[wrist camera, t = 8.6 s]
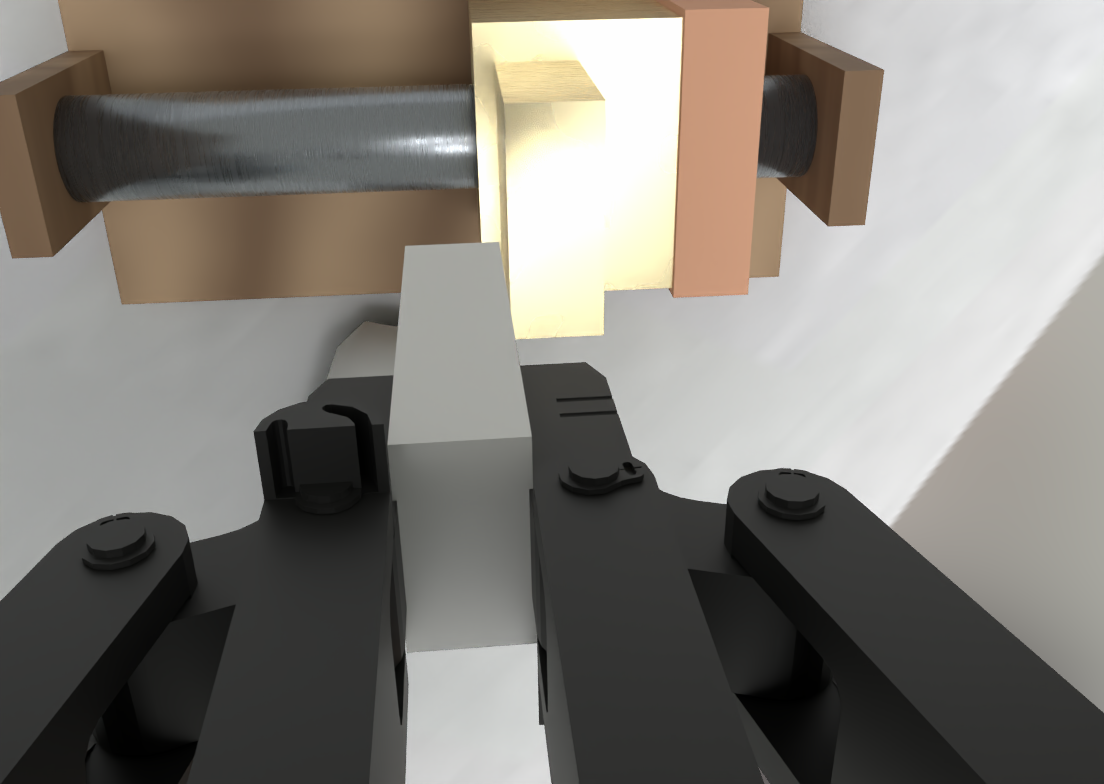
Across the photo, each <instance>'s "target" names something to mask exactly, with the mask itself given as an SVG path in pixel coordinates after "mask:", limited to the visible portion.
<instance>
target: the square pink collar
mask: <svg viewBox="0 0 1104 784" xmlns="http://www.w3.org/2000/svg"><path fill="white" fill-rule="evenodd" d="M655 1H657V2H659V3H660V4H662V5H664V6H665V7H667V8H668V9H670V10H672V11H673V12H675V13H677V14H678V15H680V16H681V17H683V39H682V64H681V88H680V112H679V137H678V161H677V186H676V210H675V235H674V259H673V284H672V288H669V290H670V292H671V294H672V296H673V298H677V297H700V296H723V295H746V294H748V284H749V271H750V258H751V244H752V231H753V218H754V204H755V191H756V178H757V165H758V151H759V138H760V125H761V112H762V98H763V85H764V72H765V58H766V45H767V32H768V19H769V7H766V6H764V5H762V4H759V3H757V2H754V1H752V0H655Z"/></svg>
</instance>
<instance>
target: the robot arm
mask: <svg viewBox="0 0 1104 784" xmlns="http://www.w3.org/2000/svg"><path fill="white" fill-rule="evenodd" d="M254 437H255V443H256V450H257V456H258V462H259V469H260V475H261V481H262V488H263V494H264V504H263V507H262V511H261V515H260V518H259V520H258V521H257V522H255V523H252V524H250V525H248V526H246V527H244V528H242V529H239V530H236V531H233V532H230V533H227V534H223V535H220V536H216V537H212V538H208V539H204V540H200V541H196V542H192V543H190V541H189V537H188V534H187V530H186V527H185V525H184V524H182V523H181V522H179V521H178V520H176V519H175V518H173V517H172V516H167V515H162V514H157V513H152V512H146V513H122V514H116V516H113V515H111V516H108V517H104V518H101V519H99V520H97V521H95V522H93V523H91V524H88V525H86V526H84V527H81V528H79V529H77V530H75V531H74V532H72V533H71V534H70V535H68V536H67V537H66V538H64V539H63V540H62V541H60V542H59V543H58V544H56V545H55V546H54V547H53V549H52V550H51V551H50V552H49V553H48V554H47V555H46V556H45V557H44V558H43V559H42V560H41V561H40V562H39V563H38V564H37V565H36V566H35V567H34V568H33V569H32V570H31V571H30V572H29V573H28V574H27V575H26V576H25V577H24V578H23V579H22V580H21V581H20V582H19V583H18V584H17V585H16V586H15V587H14V588H13V589H12V590H11V591H10V592H9V593H8V594H7V595H6V596H5V597H4V598H3V599H2V600H1V601H0V784H405V773H406V742H407V712H408V674H407V663H406V653H405V636H406V647H407V653H411V652H424V651H437V650H451V649H464V648H478V647H491V646H504V645H518V644H531V643H537V653H538V694H539V725H544V726H545V734H546V742H547V751H548V759H549V767H550V775H551V783H552V784H764V782H763V779H762V776H761V773H760V770H761V771H762V773H763V774H764V775H765V777H766V778H767V780H768V781H769V783H770V784H1104V713H1103V712H1102V711H1101V710H1100V709H1098V708H1097V707H1096V706H1095V705H1094V704H1092V702H1090V701H1089V700H1088V699H1087V698H1086V697H1085V696H1083V695H1082V694H1081V693H1080V692H1079V691H1078V690H1077V689H1075V688H1074V687H1073V686H1072V685H1071V684H1070V683H1068V682H1067V681H1066V680H1065V679H1064V678H1063V677H1062V676H1060V675H1059V674H1058V673H1057V672H1056V671H1055V670H1054V669H1052V668H1051V667H1050V666H1049V665H1047V664H1046V663H1045V662H1044V661H1043V660H1042V659H1041V658H1040V657H1039V656H1037V655H1036V654H1035V653H1034V652H1033V651H1031V650H1030V649H1029V648H1028V647H1027V646H1026V645H1024V643H1022V642H1021V641H1020V640H1019V639H1018V638H1017V637H1015V636H1014V635H1013V634H1012V633H1011V632H1009V630H1007V629H1006V628H1005V627H1004V626H1003V625H1002V624H1000V623H999V622H998V621H997V620H996V619H995V618H994V617H992V616H991V615H990V614H989V613H988V612H987V611H985V610H984V609H983V608H982V607H981V606H980V605H979V604H977V603H976V602H975V601H974V600H973V599H972V598H970V597H969V596H968V595H967V594H966V593H965V592H964V591H962V590H961V589H960V588H959V587H958V586H957V585H956V584H954V583H953V582H952V581H951V580H950V579H949V578H947V577H946V576H945V575H944V574H943V573H942V572H940V571H939V570H938V569H937V568H936V567H935V566H934V565H932V564H931V563H930V562H929V561H928V560H927V559H925V558H924V557H923V556H922V555H921V554H920V553H919V552H917V551H916V550H915V549H914V548H913V547H911V545H909V544H908V543H907V542H906V541H905V540H903V539H902V538H901V537H900V536H899V535H898V534H897V533H895V532H894V531H893V530H892V529H891V528H890V527H889V526H888V525H886V524H885V523H884V522H883V521H882V520H881V519H879V518H878V517H877V516H876V515H875V514H874V513H873V512H871V511H870V510H869V509H868V508H867V507H866V506H864V505H863V504H862V503H861V502H860V501H859V500H858V499H856V498H855V497H854V496H853V495H852V494H851V493H849V492H848V491H847V490H846V489H844V488H843V487H841V486H840V485H838V484H836V483H835V482H833V481H831V480H830V479H828V478H825V477H822V476H819V475H815V474H812V473H809V472H807V471H803V470H797V469H794V470H791V469H786V468H779V469H774V470H762V471H757V472H754V473H751V474H749V475H746V476H743V477H741V478H739V479H738V480H737V481H736V482H735V483H734V484H733V485H732V486H730V488H729V493H728V498H727V504H719V503H711V502H703V501H696V500H691V499H685V498H680V497H677V496H674V495H671V494H668V493H665V492H663V491H661V490H659V488H658V485H657V482H656V479H655V477H654V474H653V473H652V472H651V471H650V469H649V468H648V467H647V465H646V464H645V463H643V462H641V461H639V460H638V459H636V458H634V457H632V454H631V451H630V448H629V445H628V442H627V439H626V436H625V433H624V430H623V427H622V424H621V421H620V418H619V415H618V414H617V410H616V407H615V404H614V401H613V399H612V395H611V392H610V389H609V386H608V383H607V380H606V377H604V376H603V375H602V374H600V373H599V372H598V371H596V370H595V369H594V368H592V367H591V366H590V365H588V364H587V363H586V362H582V363H563V364H544V365H525V366H520V363H519V357H518V351H517V346H516V340H515V334H514V328H513V322H512V316H511V310H510V304H509V298H508V292H507V286H506V280H505V274H504V268H503V263H502V257H501V251H500V245H499V242H483V243H460V244H437V245H413V246H405V253H404V265H403V276H402V287H401V298H400V309H399V321H398V332H397V343H396V354H395V365H394V375H388V376H369V377H351V378H332V379H327V380H326V381H325V382H324V383H323V384H322V385H321V386H320V387H319V388H317V389H316V390H315V391H314V392H313V393H312V394H311V395H310V396H309V397H308V401H307V402H302V403H298V404H295V405H292V406H289V407H286V408H283V409H280V410H278V411H276V412H274V413H273V414H271V415H270V416H268V417H266V418H265V419H263V420H262V421H261V422H260V424H259V425H258V426H257V428H256V429H255V430H254ZM758 767H759V768H760V770H759V768H758Z"/></svg>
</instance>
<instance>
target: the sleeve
mask: <svg viewBox="0 0 1104 784" xmlns="http://www.w3.org/2000/svg"><path fill="white" fill-rule="evenodd" d="M468 11H469V33H470V54H471V76H472V84H474V99H475V122H476V144H477V166H478V188H477V207H478V225H479V238H480V243H483V242H499V245H500V251H501V257H502V263H503V268H504V274H505V280H506V286H507V292H508V298H509V304H510V310H511V316H512V322H513V328H514V334H515V339H531V338H553V337H574V336H596V335H604V291H612V290H635V289H658V288H672V284H673V259H674V235H675V210H676V186H677V161H678V137H679V112H680V88H681V64H682V39H683V17H681V16H680V15H678V14H677V13H675V12H673V11H672V10H670V9H668V8H667V7H665V6H664V5H662V4H660V3H659V2H657V1H655V0H468Z"/></svg>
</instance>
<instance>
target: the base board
mask: <svg viewBox="0 0 1104 784" xmlns="http://www.w3.org/2000/svg"><path fill="white" fill-rule="evenodd" d="M752 1H754V2H757V3H759V4H762V5H764V6H766V7H769V19H768V32H767V45H766V58H765V72H764V76H770V75H806V76H808V77H809V79H810V80H811V82H812V85H813V88H814V91H815V96H816V102H817V114H818V127H817V140H816V147H815V152H814V157H813V160H812V163H811V166H810V168H809V170H808V172H807V173H806V174H805V175H804V176H802V177H778V178H756V191H755V204H754V218H753V231H752V244H751V258H750V271H749V278H754V277H778V276H779V268H780V257H781V245H782V234H783V223H784V212H785V200H786V189H787V188H788V189H789V190H790V191H791V192H792V193H793V194H794V195H795V196H796V197H797V198H798V199H799V200H800V201H802V202H803V203H804V204H805V205H806V206H807V207H808V208H809V209H810V210H811V211H812V212H813V213H814V214H815V215H817V216H818V217H819V218H820V219H821V220H822V221H823V222H824V223H825V224H826V225H827V226H849V225H865V219H866V211H867V203H868V195H869V187H870V179H871V171H872V163H873V155H874V147H875V139H876V131H877V123H878V115H879V107H880V99H881V91H882V83H883V75H884V70H883V69H881V68H879V67H876V66H874V65H872V64H870V63H868V62H865V61H863V60H861V59H859V58H857V57H854V56H852V55H850V54H848V53H845V52H843V51H841V50H839V49H837V48H834V47H832V46H830V45H828V44H826V43H823V42H821V41H819V40H817V39H814V38H812V37H810V36H808V35H806V34H803V33H801V32H800V31H801V20H802V9H803V0H752ZM58 3H59V8H60V13H61V17H62V22H63V27H64V32H65V36H66V41H67V46H68V51H67V52H65V53H63V54H61V55H59V56H56V57H54V58H52V59H50V60H48V61H46V62H43V63H41V64H39V65H37V66H35V67H32V68H30V69H28V70H26V71H24V72H22V73H19V74H17V75H15V76H13V77H11V78H9V79H6V80H4V81H2V82H0V212H1V216H2V220H3V224H4V228H5V232H6V236H7V240H8V244H9V248H10V252H11V256H12V258H34V257H53V256H54V255H55V254H57V253H58V252H59V251H60V250H61V249H62V248H63V247H64V246H65V245H66V244H67V243H68V242H69V241H70V240H71V239H72V238H73V237H74V236H75V235H76V234H77V233H78V232H79V231H81V230H82V229H83V228H84V227H85V226H86V225H87V224H88V223H89V222H90V221H91V220H92V219H93V218H94V217H95V216H96V215H97V214H98V213H99V212H100V211H101V210H102V212H103V217H104V222H105V227H106V231H107V236H108V241H109V246H110V251H111V255H112V260H113V265H114V270H115V274H116V279H117V284H118V289H119V293H120V298H121V303H122V304H144V303H167V302H191V301H214V300H238V299H261V298H285V297H308V296H331V295H355V294H378V293H401V287H402V276H403V265H404V253H405V246H413V245H437V244H460V243H480V238H479V225H478V207H477V188H469V189H441V190H413V191H385V192H357V193H329V194H301V195H273V196H245V197H217V198H189V199H161V200H133V201H105V202H77V201H75V200H74V199H73V198H72V197H71V196H70V194H69V193H68V191H67V190H66V188H65V186H64V183H63V181H62V178H61V176H60V172H59V169H58V165H57V161H56V156H55V149H54V140H53V121H54V114H55V109H56V106H57V103H58V101H59V100H60V98H62V97H63V96H71V95H106V94H141V93H176V92H211V91H246V90H281V89H316V88H351V87H386V86H421V85H456V84H472V76H471V54H470V33H469V11H468V0H58Z"/></svg>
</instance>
